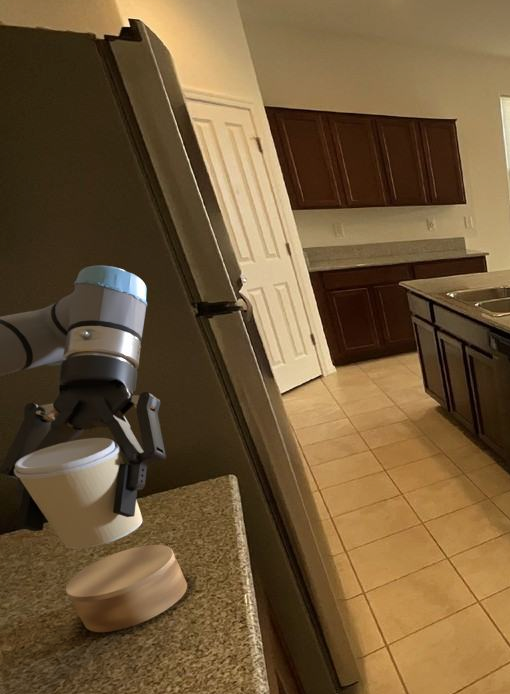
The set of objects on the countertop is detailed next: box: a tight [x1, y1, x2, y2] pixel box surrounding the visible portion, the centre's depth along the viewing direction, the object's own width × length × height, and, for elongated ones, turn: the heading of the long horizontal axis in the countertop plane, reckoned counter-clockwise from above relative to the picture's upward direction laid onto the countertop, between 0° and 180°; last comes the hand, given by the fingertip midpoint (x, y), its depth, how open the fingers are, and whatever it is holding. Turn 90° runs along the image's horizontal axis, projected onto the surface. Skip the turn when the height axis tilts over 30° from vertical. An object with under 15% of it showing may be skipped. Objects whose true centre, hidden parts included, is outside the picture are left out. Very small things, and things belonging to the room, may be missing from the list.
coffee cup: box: [14, 437, 143, 550], centre depth 68 cm, size 9×9×12 cm
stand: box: [64, 544, 188, 633], centre depth 73 cm, size 11×11×6 cm
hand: (77, 521), depth 66 cm, fingers closed on coffee cup, 9 cm apart
